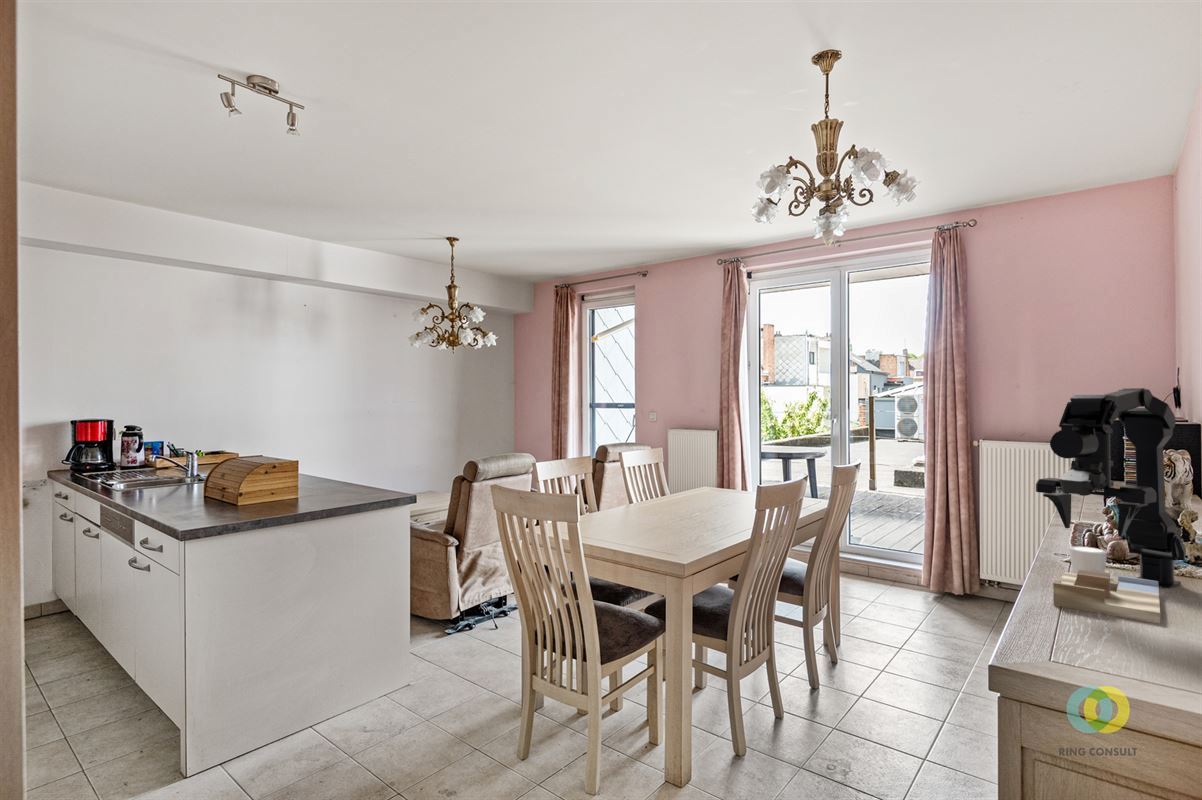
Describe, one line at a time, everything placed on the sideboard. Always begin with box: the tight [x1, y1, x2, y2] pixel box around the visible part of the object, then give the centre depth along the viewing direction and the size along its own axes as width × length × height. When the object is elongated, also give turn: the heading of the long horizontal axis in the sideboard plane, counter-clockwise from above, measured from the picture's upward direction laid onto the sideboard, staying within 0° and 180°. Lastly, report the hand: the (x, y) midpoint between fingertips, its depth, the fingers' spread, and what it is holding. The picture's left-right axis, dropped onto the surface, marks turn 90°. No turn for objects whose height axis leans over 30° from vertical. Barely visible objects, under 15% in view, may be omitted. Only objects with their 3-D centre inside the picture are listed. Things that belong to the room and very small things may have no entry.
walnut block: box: [1077, 569, 1111, 599], centre depth 125 cm, size 5×5×4 cm
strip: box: [1117, 575, 1160, 595], centre depth 129 cm, size 8×6×3 cm
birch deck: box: [1052, 571, 1161, 625], centre depth 127 cm, size 22×16×4 cm
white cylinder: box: [1069, 545, 1108, 574], centre depth 141 cm, size 7×7×7 cm
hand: (1093, 532), depth 124 cm, fingers open, 9 cm apart
